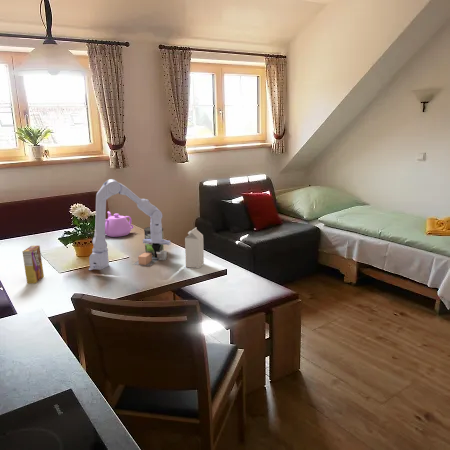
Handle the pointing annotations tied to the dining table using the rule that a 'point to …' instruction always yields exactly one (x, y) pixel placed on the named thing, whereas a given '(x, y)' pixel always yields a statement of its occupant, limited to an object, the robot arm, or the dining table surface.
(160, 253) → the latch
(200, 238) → the milk carton
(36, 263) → the candy box
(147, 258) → the cover
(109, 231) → the teapot
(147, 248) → the coffee can
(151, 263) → the board
